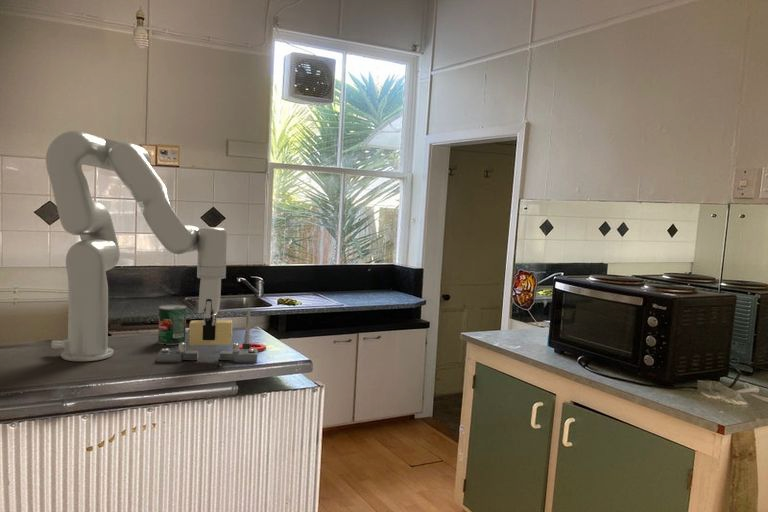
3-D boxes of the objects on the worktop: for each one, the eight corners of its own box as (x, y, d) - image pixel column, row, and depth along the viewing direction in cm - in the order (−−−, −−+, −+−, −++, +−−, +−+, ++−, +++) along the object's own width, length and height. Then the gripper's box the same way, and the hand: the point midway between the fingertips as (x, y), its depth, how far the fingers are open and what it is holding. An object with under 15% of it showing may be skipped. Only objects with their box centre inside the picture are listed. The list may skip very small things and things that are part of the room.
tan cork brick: (189, 345, 157) (189, 323, 157) (191, 341, 161) (191, 320, 161) (231, 344, 160) (231, 322, 159) (232, 340, 163) (232, 320, 163)
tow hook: (243, 345, 180) (231, 351, 171) (246, 304, 179) (234, 307, 170) (269, 348, 179) (258, 354, 169) (272, 306, 178) (261, 310, 169)
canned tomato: (152, 343, 175) (153, 307, 174) (167, 338, 182) (168, 303, 182) (176, 346, 173) (177, 309, 172) (190, 340, 181) (191, 305, 180)
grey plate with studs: (157, 362, 155) (157, 345, 155) (161, 356, 161) (162, 340, 161) (256, 362, 160) (257, 346, 160) (257, 356, 166) (257, 341, 166)
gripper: (200, 268, 166) (199, 331, 168) (193, 275, 150) (191, 345, 151) (227, 269, 168) (226, 331, 169) (223, 276, 151) (221, 345, 153)
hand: (209, 337), depth 160 cm, fingers closed on tan cork brick, 4 cm apart
